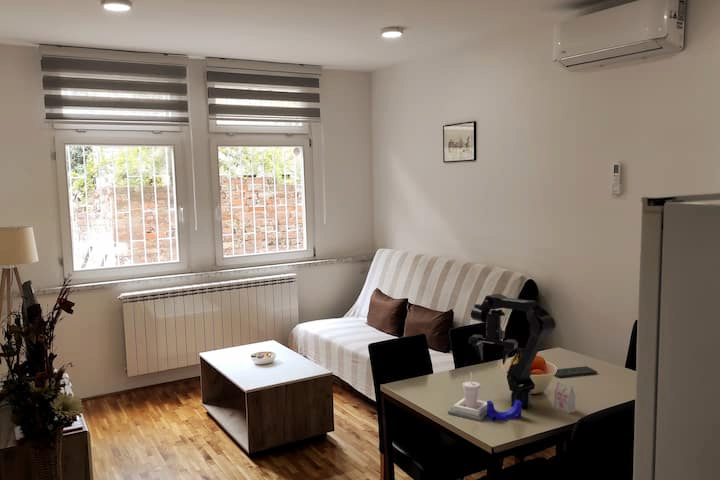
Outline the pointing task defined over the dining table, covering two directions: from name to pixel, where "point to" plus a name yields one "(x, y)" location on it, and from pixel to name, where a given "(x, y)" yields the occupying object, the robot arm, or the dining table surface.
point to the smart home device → (574, 372)
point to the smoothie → (471, 393)
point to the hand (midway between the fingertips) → (492, 362)
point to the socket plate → (470, 410)
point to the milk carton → (564, 398)
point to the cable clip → (503, 416)
